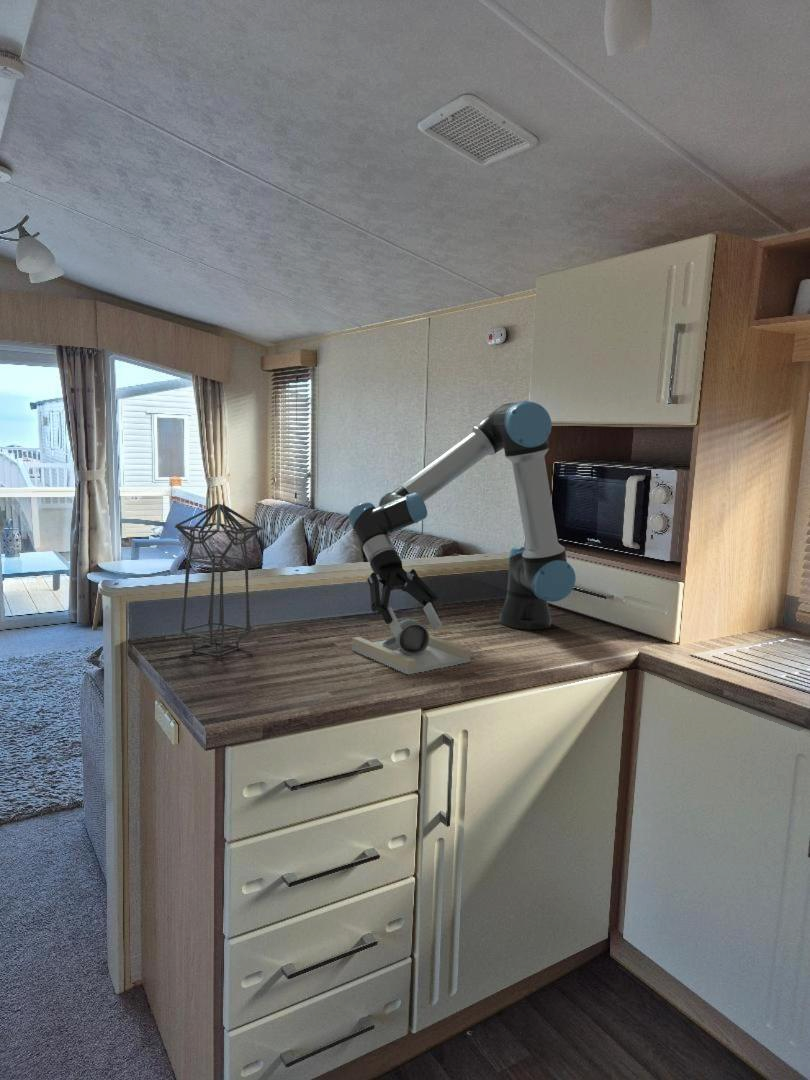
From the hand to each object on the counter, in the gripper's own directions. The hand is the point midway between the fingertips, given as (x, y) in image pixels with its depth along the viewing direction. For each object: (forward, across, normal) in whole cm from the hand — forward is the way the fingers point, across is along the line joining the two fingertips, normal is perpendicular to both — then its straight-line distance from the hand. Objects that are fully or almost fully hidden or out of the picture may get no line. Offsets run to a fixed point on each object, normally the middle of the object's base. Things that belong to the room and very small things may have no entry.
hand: (418, 630), depth 171 cm
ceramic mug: (+2, +1, -7) cm, 7 cm away
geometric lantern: (-17, +37, -27) cm, 49 cm away
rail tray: (+3, 0, -7) cm, 8 cm away
